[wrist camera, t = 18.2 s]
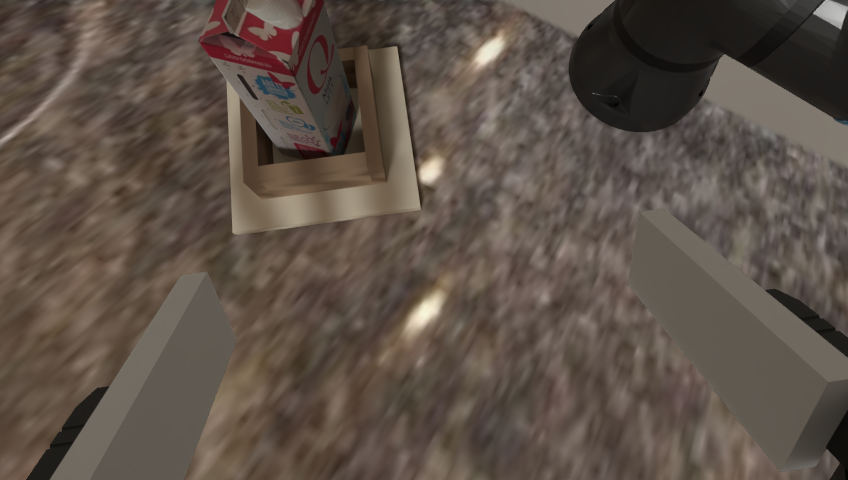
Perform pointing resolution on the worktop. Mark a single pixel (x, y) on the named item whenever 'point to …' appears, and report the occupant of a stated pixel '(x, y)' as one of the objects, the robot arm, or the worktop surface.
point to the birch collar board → (328, 158)
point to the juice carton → (285, 72)
